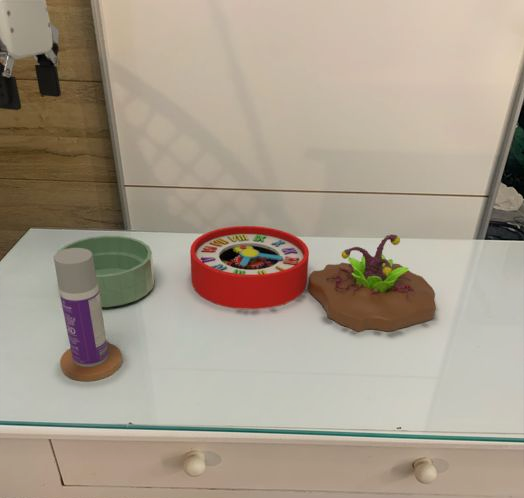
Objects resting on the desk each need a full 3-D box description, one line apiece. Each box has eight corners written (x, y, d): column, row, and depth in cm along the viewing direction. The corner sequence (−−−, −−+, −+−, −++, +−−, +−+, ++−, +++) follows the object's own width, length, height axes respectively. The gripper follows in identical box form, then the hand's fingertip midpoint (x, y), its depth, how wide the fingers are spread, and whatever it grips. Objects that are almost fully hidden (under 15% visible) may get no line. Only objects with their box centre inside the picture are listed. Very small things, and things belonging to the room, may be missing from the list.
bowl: (42, 301, 88) (34, 267, 85) (89, 261, 100) (84, 230, 97) (129, 317, 85) (125, 282, 82) (168, 274, 98) (165, 242, 94)
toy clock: (211, 220, 103) (317, 233, 100) (211, 249, 107) (314, 263, 103) (172, 266, 87) (297, 284, 84) (174, 299, 91) (294, 317, 87)
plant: (456, 323, 87) (474, 258, 81) (341, 338, 83) (351, 271, 76) (397, 267, 103) (408, 209, 97) (298, 277, 98) (302, 217, 92)
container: (66, 364, 74) (44, 261, 65) (83, 344, 77) (65, 245, 69) (98, 370, 73) (81, 266, 64) (114, 350, 76) (100, 250, 68)
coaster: (49, 375, 73) (47, 369, 73) (80, 342, 79) (79, 336, 79) (104, 386, 72) (103, 380, 71) (132, 352, 78) (131, 346, 77)
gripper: (18, -47, 76) (42, 89, 86) (-75, -50, 62) (-34, 112, 72) (67, -45, 75) (86, 93, 85) (-17, -48, 61) (17, 117, 71)
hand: (31, 101), depth 78 cm, fingers open, 9 cm apart
